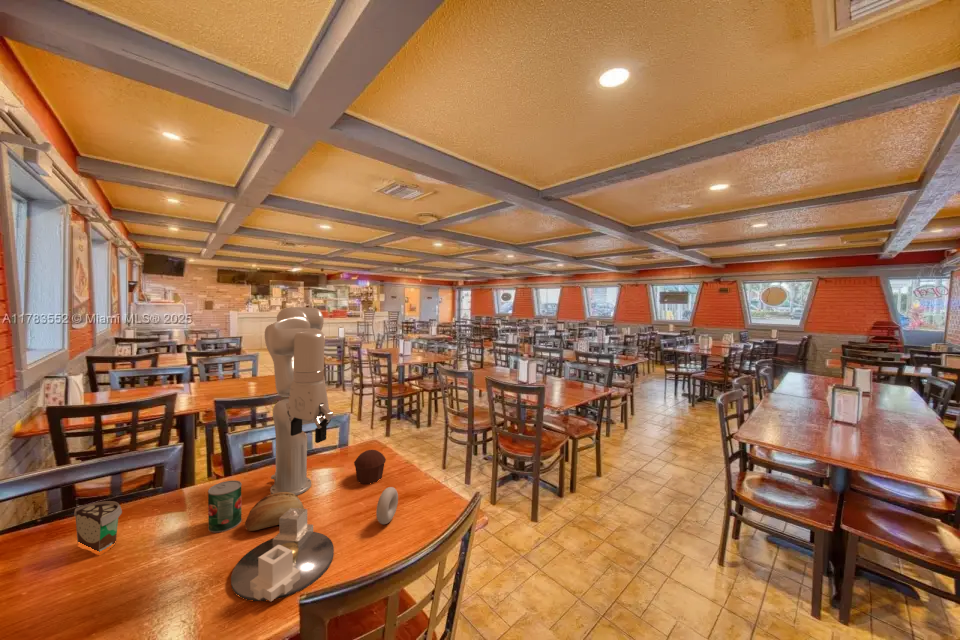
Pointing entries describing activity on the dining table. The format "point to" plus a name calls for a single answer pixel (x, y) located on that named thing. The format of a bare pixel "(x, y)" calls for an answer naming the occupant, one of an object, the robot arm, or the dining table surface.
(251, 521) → the bread roll
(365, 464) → the muffin
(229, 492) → the canned tomato
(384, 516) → the donut
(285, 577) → the hollow square tube block
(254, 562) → the carrier
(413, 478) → the dining table surface
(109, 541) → the food container
